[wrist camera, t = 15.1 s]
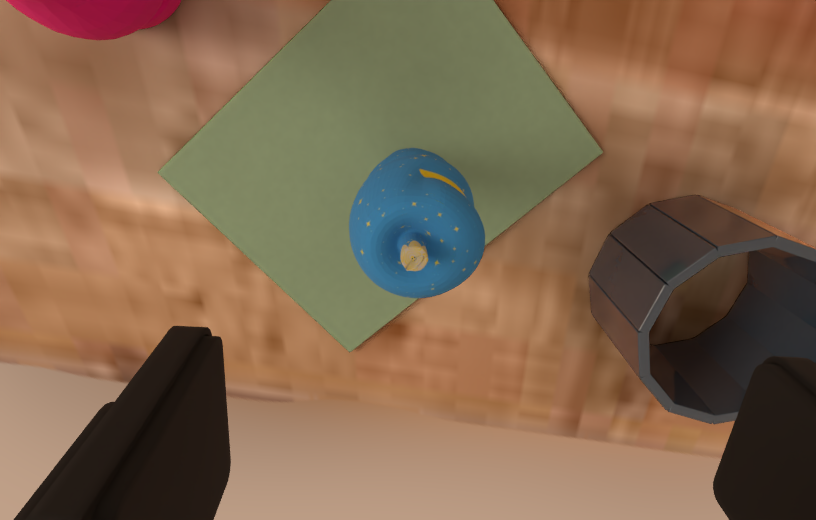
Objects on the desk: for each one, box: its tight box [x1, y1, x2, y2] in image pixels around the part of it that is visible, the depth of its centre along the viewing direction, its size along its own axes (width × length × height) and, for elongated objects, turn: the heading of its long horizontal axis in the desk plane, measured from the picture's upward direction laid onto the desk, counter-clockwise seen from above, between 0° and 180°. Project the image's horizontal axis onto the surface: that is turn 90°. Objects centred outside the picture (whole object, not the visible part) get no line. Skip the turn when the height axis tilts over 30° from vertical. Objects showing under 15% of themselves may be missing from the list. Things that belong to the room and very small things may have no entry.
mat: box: [158, 0, 603, 352], centre depth 32 cm, size 20×16×1 cm
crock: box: [589, 195, 816, 424], centre depth 32 cm, size 11×11×8 cm
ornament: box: [349, 148, 485, 298], centre depth 25 cm, size 5×5×15 cm
